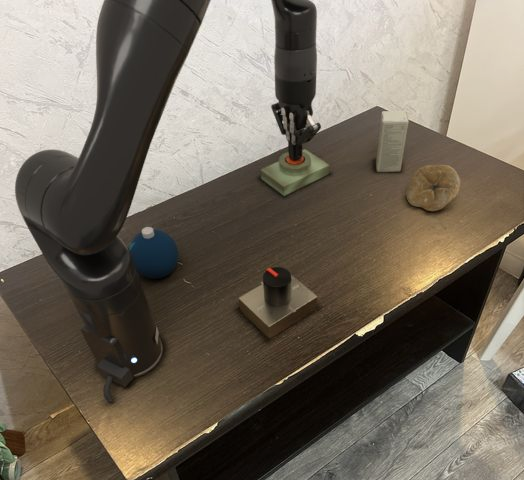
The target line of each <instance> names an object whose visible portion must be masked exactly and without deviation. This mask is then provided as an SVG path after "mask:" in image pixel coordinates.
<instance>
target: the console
mask: <svg viewBox="0 0 524 480" xmlns="http://www.w3.org/2000/svg"><path fill="white" fill-rule="evenodd" d="M238 305H239V311H240V312H241V313H242V314H243V315H244V316H245V317H246V318H247V319H248V320H249V321H250V322H251V323H252V324H253V325H254V326H255V327H256V328H258V330H259V331H261V333H263V334H264V336H265V337H267V338H268V339H269V340H270V339H272V338H273V337H275V336H276V335H278V334H279V333H281V332H282V331H284V330H286V329H287V328H289V327H291V326H292V325H294V324H295V323H297V322H299V321H301V320H302V319H303V318H305V317H307V316H308V315H309V314H312V313H313V312H314V311H316V310H317V309H318V295H317V294H315V293H314V292H313V291H312V290H310V289H309V288H308V287H307V286H306V285H305V284H303V283H302V282H301V281H300V280H298V279H297V278H296V277H295V276H294V275H293V274H291V300H290V302H289V303H288V304H286V305H284V306H281V307H274V306H271V305H269V304H267V303H266V301H265V299H264V287H263V281H261V282H260V285H258V286H256V287H255V288H253V289H251V290H250V291H248V292H246V293H244V294H243V295H241V296H238Z"/></svg>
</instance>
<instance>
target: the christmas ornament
mask: <svg viewBox="0 0 524 480" xmlns="http://www.w3.org/2000/svg"><path fill="white" fill-rule="evenodd" d="M128 248H129V250H130V252H131V255H132V258H133V261H134V264H135V267H136V270H137V273H138V274H140V275H141V276H142V277H146V278H147V279H161V278H164V277H166V276H168V275H170V274H171V273H172V272H174V270H175V269H176V267H177V265H178V263H179V262H178V261H179V248H178V245H177V242H176V241H175V240H174V239H173V237H172V236H171V235H170V234H169V233H167V232H165V231H163V230H161V229H155V228H152V226H146V227H143V228H142V229H141V231H140V232H139V233H137V234H136V235H135V236H134V237H133V239H132V241H131V243H130V245H129V247H128Z"/></svg>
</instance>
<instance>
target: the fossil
mask: <svg viewBox="0 0 524 480" xmlns="http://www.w3.org/2000/svg"><path fill="white" fill-rule="evenodd" d="M461 185H462V180H461V178H460V176H459V174H458V172H457V170H455V169H454V168H453V166H452V167H451V166H450V165H448V164H438V165H437V164H436V165H431V164H426V165H423V166H422V167H420V168H418V169H417V170H416V171H415V172H414V174H413V175H412V177H411V180H410V183H409V185H408V188H407V190H406V193H405V194H406V200H407V202H408V203H409V204H410V205H411V206H413V207H415V208H416V207H417V208H422V209H424V210H426V211H428V212H435V211H436V212H437V211H439V210H443V209H445V208H446V207H447V206H448V205H450V204H451V202H453V201H454V200H455V199H456V198H457V197H458V195H459V192H460V191H459V190H460V186H461Z"/></svg>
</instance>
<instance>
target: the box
mask: <svg viewBox="0 0 524 480" xmlns="http://www.w3.org/2000/svg"><path fill="white" fill-rule="evenodd" d="M409 121H410V120H409V114H408V111H407V110H383V111H381V115H380V124H379V126H380V127H379V132H378V133H379V134H378V142H377V150H376V157H375V167H376V168H375V169H376V172H377V173H378V172H379V173H381V172H382V173H387V172H388V173H390V172H393V173H395V172H401V171H402V170H401V169H402V164H403V159H404V152H405V147H406V141H407V140H406V139H407V134H408V128H409Z"/></svg>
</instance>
